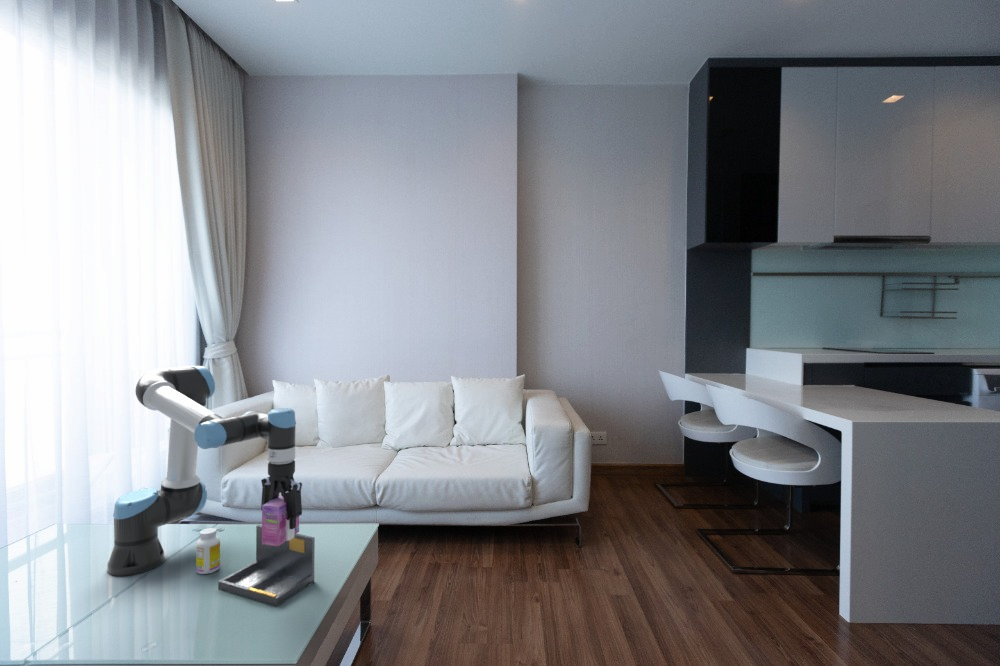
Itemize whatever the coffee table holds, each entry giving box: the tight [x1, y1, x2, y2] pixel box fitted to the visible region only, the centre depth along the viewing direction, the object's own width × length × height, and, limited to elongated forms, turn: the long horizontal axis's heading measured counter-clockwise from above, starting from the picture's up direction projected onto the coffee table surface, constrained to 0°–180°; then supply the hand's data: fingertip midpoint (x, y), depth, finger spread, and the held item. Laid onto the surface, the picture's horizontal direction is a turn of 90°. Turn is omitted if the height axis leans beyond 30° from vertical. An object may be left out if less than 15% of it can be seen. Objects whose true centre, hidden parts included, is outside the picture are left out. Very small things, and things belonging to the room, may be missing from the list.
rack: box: [217, 524, 316, 608], centre depth 155 cm, size 23×15×14 cm, turn 68°
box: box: [261, 494, 300, 546], centre depth 152 cm, size 10×6×12 cm, turn 168°
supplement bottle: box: [195, 527, 221, 575], centre depth 164 cm, size 7×7×13 cm
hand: (281, 536), depth 153 cm, fingers closed on box, 6 cm apart
